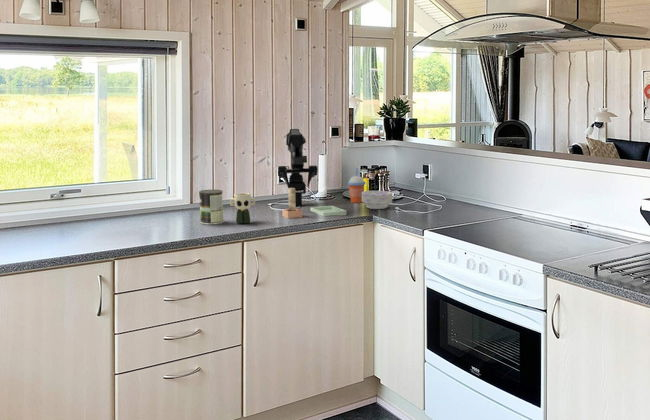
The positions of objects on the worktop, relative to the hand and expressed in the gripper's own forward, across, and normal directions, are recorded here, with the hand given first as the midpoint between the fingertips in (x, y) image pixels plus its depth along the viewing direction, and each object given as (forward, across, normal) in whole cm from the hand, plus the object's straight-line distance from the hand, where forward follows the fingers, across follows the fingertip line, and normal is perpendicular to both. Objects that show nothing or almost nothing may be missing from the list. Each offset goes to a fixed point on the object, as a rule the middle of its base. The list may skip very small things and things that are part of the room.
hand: (298, 187), depth 296 cm
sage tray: (+11, +14, +7) cm, 19 cm away
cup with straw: (-6, +32, +33) cm, 46 cm away
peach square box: (+15, -3, 0) cm, 16 cm away
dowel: (+15, -3, 0) cm, 15 cm away
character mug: (+21, -25, -8) cm, 34 cm away
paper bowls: (+4, +39, +17) cm, 43 cm away
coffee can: (+19, -39, -5) cm, 44 cm away
